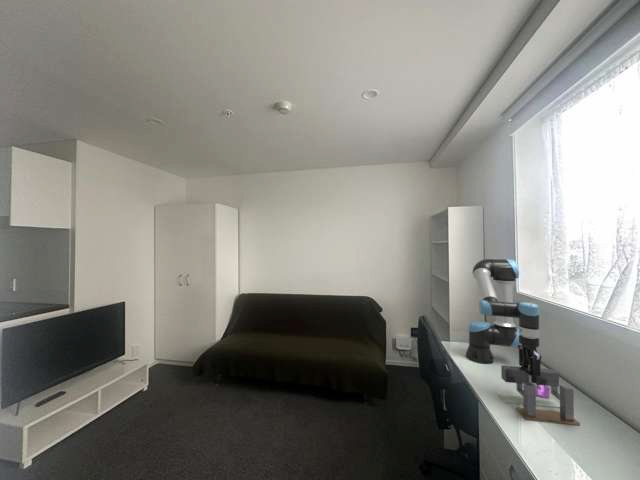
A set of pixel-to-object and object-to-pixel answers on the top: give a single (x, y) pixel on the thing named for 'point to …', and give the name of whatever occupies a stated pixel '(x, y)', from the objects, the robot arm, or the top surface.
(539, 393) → the bracket
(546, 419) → the hook rack
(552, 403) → the mat
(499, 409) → the top surface
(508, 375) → the rail
